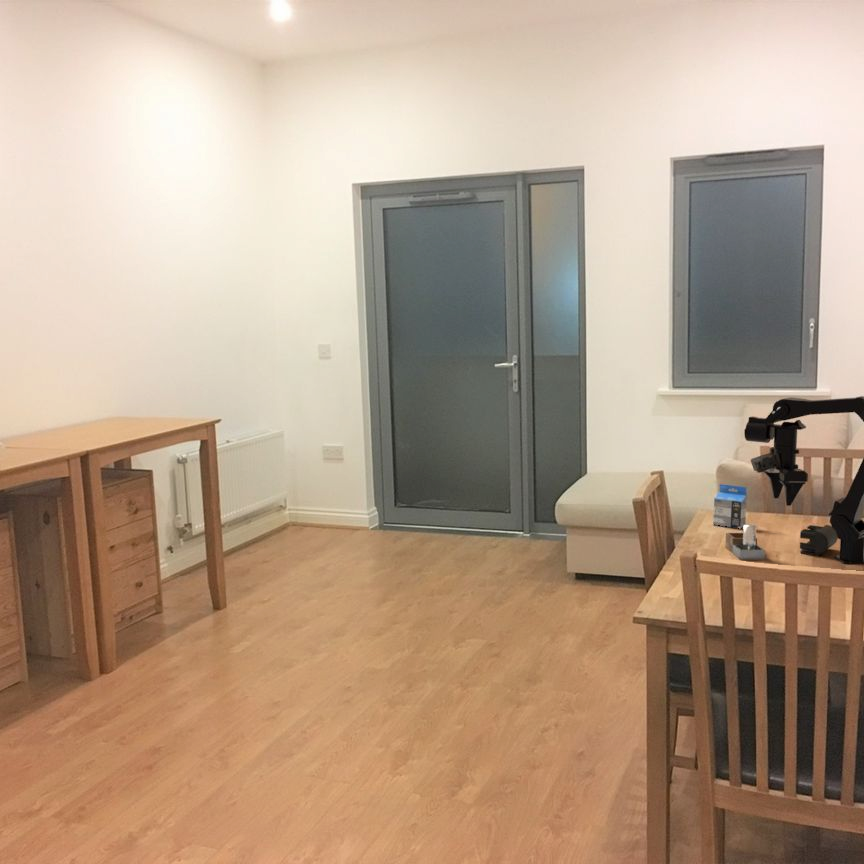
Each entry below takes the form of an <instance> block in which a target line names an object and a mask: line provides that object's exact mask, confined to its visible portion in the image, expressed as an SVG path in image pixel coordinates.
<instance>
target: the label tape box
mask: <svg viewBox="0 0 864 864" xmlns="http://www.w3.org/2000/svg"><path fill="white" fill-rule="evenodd" d="M718 489H719V492H717V494H716V495H715V497H714V498H713V517H712V524H715V525H714V526H718V525H720V526H719V527H725V526H727V528H731V527H733V528H732V529H738V528H739V530H741V528H742V529H743V525H744V524H747V523H746V520H747V498H748V496H747V487H746V486H739V485H731V484H723V483H719V488H718ZM732 489H733V490H732ZM734 490H735V491H734ZM736 490H737V491H736Z"/></svg>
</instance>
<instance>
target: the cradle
mask: <svg viewBox="0 0 864 864" xmlns="http://www.w3.org/2000/svg"><path fill="white" fill-rule="evenodd" d="M732 554H733V555H734V556H735V557H737V559H739V558H740V559H739V560H741V561H745V560H744V559H748V560H749V561H751V560H752V561H753V560H756V561H757V560H758V561H759V560H762V561H763V560H766V558H765V557H766V550H765V549H764V548H763V547H762V546H760V544H758V543H757V544H756V547H755V550H743V544H733V553H732Z"/></svg>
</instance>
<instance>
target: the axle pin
mask: <svg viewBox="0 0 864 864" xmlns="http://www.w3.org/2000/svg"><path fill="white" fill-rule="evenodd" d="M742 529H743V532H742V533H743V550H755V547H756V538H757V525H756V524H752V523H745V524H744V525H743V528H742Z"/></svg>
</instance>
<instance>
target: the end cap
mask: <svg viewBox="0 0 864 864" xmlns="http://www.w3.org/2000/svg"><path fill="white" fill-rule="evenodd" d="M799 537H800V539H806V540H809V541H807V542H799V549H800V551H799V552H800V553H799V554H801V555H807V556H808V555H809V556H815V557H817V556H820V555H822V554H823V553H825V552H826V551H827V550H829V549H830V548H831V547H832V546H834V545H835V544H836V543H837V541H838V540H839V539H838V537H837V534H836V531H835V530H834V529H833V527H832V526H831V524H830V525H829V524H825V525H824V526H819V525H811V524H810V525H809V526H807V528H803V529H802V530H801V531H800V535H799Z"/></svg>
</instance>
